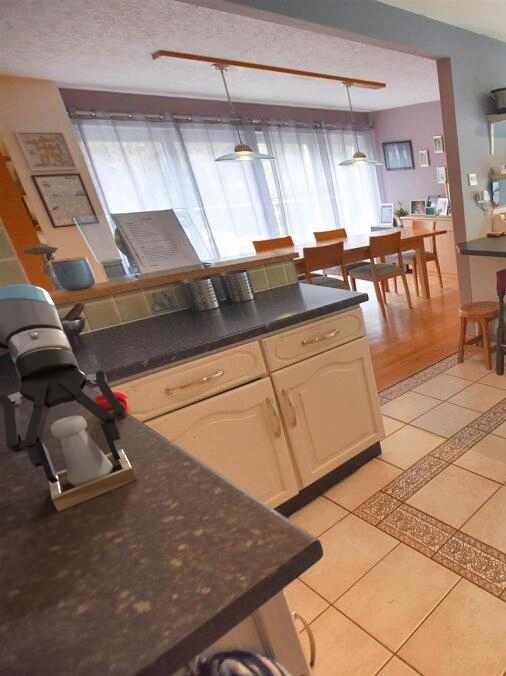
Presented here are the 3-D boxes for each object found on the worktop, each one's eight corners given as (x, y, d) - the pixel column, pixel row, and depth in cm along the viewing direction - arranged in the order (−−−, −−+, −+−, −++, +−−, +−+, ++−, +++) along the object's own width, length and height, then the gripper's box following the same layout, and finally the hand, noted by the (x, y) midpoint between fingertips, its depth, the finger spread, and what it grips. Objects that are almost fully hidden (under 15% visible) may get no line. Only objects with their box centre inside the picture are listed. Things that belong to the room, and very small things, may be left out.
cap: (100, 412, 105) (91, 390, 103) (132, 404, 109) (123, 382, 107) (96, 424, 99) (86, 401, 97) (130, 415, 102) (120, 392, 100)
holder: (53, 487, 77) (47, 475, 76) (126, 459, 84) (122, 448, 83) (58, 511, 71) (51, 499, 70) (136, 479, 78) (131, 467, 77)
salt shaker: (80, 480, 79) (50, 417, 74) (120, 469, 81) (93, 407, 77) (68, 498, 74) (35, 432, 69) (111, 486, 76) (81, 421, 72)
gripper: (-51, 367, 70) (-13, 492, 64) (113, 332, 83) (157, 434, 78) (-31, 388, 75) (6, 506, 69) (120, 352, 88) (161, 449, 83)
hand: (85, 467), depth 74 cm, fingers open, 7 cm apart
